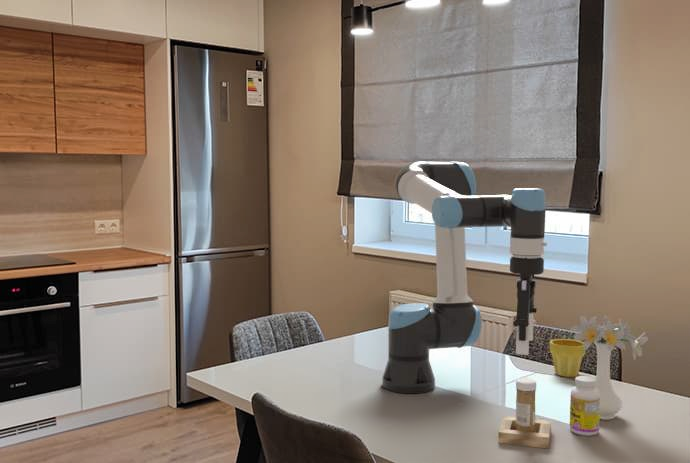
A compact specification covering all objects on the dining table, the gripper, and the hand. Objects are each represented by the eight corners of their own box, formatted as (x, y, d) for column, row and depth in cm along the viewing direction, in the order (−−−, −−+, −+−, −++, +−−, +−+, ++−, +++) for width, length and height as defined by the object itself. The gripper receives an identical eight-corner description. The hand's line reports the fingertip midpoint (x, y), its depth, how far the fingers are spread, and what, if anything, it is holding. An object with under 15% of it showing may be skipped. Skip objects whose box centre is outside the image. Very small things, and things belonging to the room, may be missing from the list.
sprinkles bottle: (539, 437, 164) (540, 381, 163) (525, 442, 161) (526, 384, 160) (524, 431, 168) (525, 376, 167) (510, 435, 165) (511, 379, 164)
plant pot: (580, 369, 220) (581, 338, 220) (588, 379, 210) (589, 346, 209) (546, 368, 222) (547, 338, 221) (552, 378, 211) (553, 346, 210)
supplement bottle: (565, 426, 171) (566, 374, 170) (591, 426, 172) (593, 374, 171) (576, 437, 164) (577, 383, 163) (604, 436, 165) (605, 382, 164)
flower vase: (640, 430, 168) (643, 327, 166) (561, 417, 178) (563, 318, 176) (648, 414, 180) (651, 317, 177) (573, 402, 189) (576, 310, 187)
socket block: (498, 442, 161) (498, 431, 161) (503, 426, 172) (503, 416, 171) (548, 448, 158) (548, 437, 157) (550, 431, 168) (551, 421, 168)
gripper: (540, 263, 149) (538, 362, 151) (546, 250, 173) (544, 335, 175) (504, 262, 151) (502, 359, 153) (515, 249, 175) (513, 333, 177)
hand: (524, 346), depth 164 cm, fingers open, 13 cm apart
